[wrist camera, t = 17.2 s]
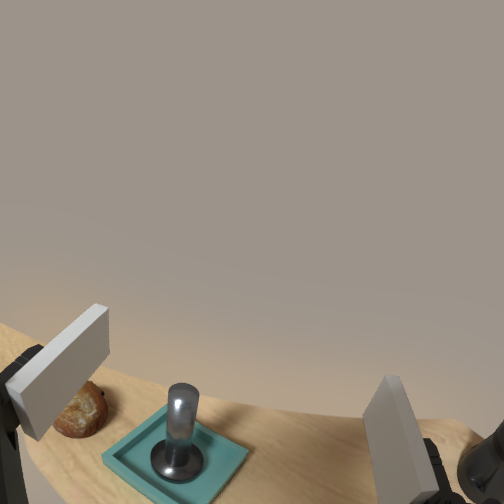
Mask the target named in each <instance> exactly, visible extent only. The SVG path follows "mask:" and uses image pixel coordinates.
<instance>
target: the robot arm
mask: <svg viewBox="0 0 504 504" xmlns="http://www.w3.org/2000/svg"><path fill="white" fill-rule="evenodd" d="M109 354H110V350H109V308H107V307H104V306H102V305H99V304H96V303H95V304H94V305H93V306H92V307H90V308H89V309H88V310H87V311H85V312H84V313H83V314H82V315H81V316H80V317H79V318H77V319H76V320H75V321H74V322H73V323H71V324H70V325H69V326H68V327H67V328H66V329H65V330H63V331H62V332H61V333H60V334H59V335H58V336H57V337H55V338H54V339H53V340H52V341H51V342H50V343H49V344H48V345H46V346H45V347H43V346H41V345H39V344H38V345H35V346H33V347H30V348H28V349H27V350H26V351H25V352H23V353H22V354H21V356H19V357H18V358H17V359H15V361H13V362H12V363H11V364H10V365H9V366H8V367H6V368H5V369H4V370H3V371H2V372H1V373H0V504H29V503H28V498H27V494H26V489H25V484H24V478H23V472H22V467H21V459H20V452H19V444H18V434H17V431H16V428H17V427H18V426H19V424H20V425H21V427H22V429H23V431H24V433H25V434H27V435H28V436H30V437H32V438H33V439H35V440H36V441H38V442H39V440H40V439H41V438H42V437H43V435H44V434H45V433H46V431H47V430H48V429H49V428H50V426H51V425H52V424H53V423H54V421H55V420H56V419H57V417H58V416H59V415H60V414H61V412H62V411H63V410H64V409H65V407H66V406H67V405H68V404H69V402H70V401H71V400H72V399H73V398H74V396H75V395H76V394H77V393H78V391H79V390H80V389H81V388H82V386H83V385H84V384H85V383H86V382H87V380H88V379H89V378H90V377H91V376H92V374H93V373H94V372H95V371H96V370H97V368H98V367H99V366H100V365H101V364H102V362H103V361H104V360H105V359H106V358H107V356H108V355H109ZM363 419H364V424H365V429H366V434H367V440H368V445H369V450H370V456H371V461H372V467H373V473H374V479H375V485H376V491H377V497H378V504H471V503H466V501H465V500H464V498H463V497H462V496H461V495H459V494H458V493H455V492H452V490H451V487H450V484H449V481H448V478H447V475H446V472H445V469H444V466H443V465H442V460H441V458H440V455H439V452H438V449H437V447H436V445H435V444H434V443H433V442H432V441H431V439H430V438H422V435H421V432H420V430H419V427H418V424H417V421H416V419H415V416H414V413H413V411H412V408H411V405H410V403H409V400H408V398H407V395H406V393H405V390H404V387H403V385H402V382H401V380H400V377H399V376H391V375H385V377H384V378H383V380H382V382H381V384H380V386H379V388H378V390H377V391H376V393H375V395H374V397H373V398H372V400H371V402H370V404H369V405H368V407H367V409H366V410H365V412H364V414H363ZM458 480H459V483H460V486H461V488H462V490H463V491H464V493H465V494H466V495H467V497H468V498H469V499H470V500H472V501H473V502H474V503H476V504H504V421H503V422H502V423H501V424H500V426H499V427H498V428H497V429H496V431H495V432H494V433H493V434H492V435H490V436H489V437H488V438H486V439H485V440H484V441H482V442H481V443H480V444H477V445H475V446H474V447H472V448H471V449H470V450H469V451H468V452H467V453H466V454H465V455H464V456H463V458H462V459H461V460H460V462H459V465H458Z"/></svg>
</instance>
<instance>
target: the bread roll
mask: <svg viewBox="0 0 504 504" xmlns="http://www.w3.org/2000/svg"><path fill="white" fill-rule="evenodd" d="M103 396H104V392H103V391H102V390H101V389H99V388H98V387H97V386H96V385H95V384H94V383H93V382H92V381H87V382H86V383H85V384H84V385H83V386H82V388H81V389H80V390H79V391H78V393H77V394H76V395H75V396H74V398H73V399H72V400H71V401H70V402H69V404H68V405H67V406H66V407H65V409H64V410H63V411H62V412H61V414H60V415H59V416H58V417H57V419H56V420H55V421H54V423H53V424H52V425H53V427H54V428H55V429H56V430H57V431H58V432H60V433H61V434H62V435H64V436H66V437H70V438H85V437H88V436H91V435H92V434H93V433H95V432H96V430H98V429H99V428H100V427H101V426H102V425H103V423H104V422H105V419H106V417H107V409H108V405H107V403H106V401H105V399H104V397H103Z"/></svg>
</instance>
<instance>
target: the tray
mask: <svg viewBox="0 0 504 504" xmlns="http://www.w3.org/2000/svg"><path fill="white" fill-rule="evenodd" d="M167 406H168V404H166V405H165V406H163V407H162V408H161V409H160V410H159V411H157V412H156V413H155V414H153V415H152V416H151V417H150V418H148V419H147V420H146V421H145V422H143V423H142V424H141V425H140V426H138V427H137V428H136V429H134V430H133V431H132V432H131V433H129V434H128V435H127V436H125V437H124V438H123V439H121V440H120V441H119V442H117V443H116V444H115V445H113V446H112V447H111V448H109V449H108V450H107V451H105V452H104V453H103V454H101V456H102V460H103V464H105V465H106V466H107V467H108V468H109V469H110V470H112V471H113V472H114V473H115V474H117V475H118V476H119V477H120V478H122V479H123V480H124V481H125V482H127V483H128V484H129V485H130V486H132V487H133V488H134V489H136V490H137V491H138V492H140V493H141V494H143V495H144V496H145V497H147V498H148V499H150V500H151V501H152V502H154V503H155V504H211V503H212V502H213V500H214V499H215V498H216V497H217V495H218V494H219V493H220V492H221V490H222V489H223V488H224V487H225V485H226V484H227V483H228V482H229V480H230V479H231V478H232V476H233V475H234V474H235V473H236V471H237V470H238V469H239V467H240V466H241V465H242V463H243V462H244V461H245V459H246V457H247V454H248V452H249V450H248V449H246V448H244V447H242V446H240V445H238V444H236V443H234V442H232V441H230V440H228V439H226V438H224V437H223V436H221V435H219V434H217V433H215V432H213V431H212V430H210V429H208V428H206V427H205V426H203V425H201V424H199V423H198V422H196V421H195V426H194V432H193V439H192V443H193V444H194V445H196V446H197V447H198V448H199V449H200V451H201V452H202V454H203V458H204V464H203V469H202V472H201V474H200V476H199V477H198V478H197V479H195V480H194V481H192V482H190V483H186V484H173V483H169V482H166V481H164V480H162V479H161V478H159V477H158V476H157V475H156V474H155V473H154V471H153V469H152V467H151V461H150V454H151V450H152V448H153V447H154V445H155V444H157V443H158V442H159V441H161V440H164V439H166V422H167Z"/></svg>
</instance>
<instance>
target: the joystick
mask: <svg viewBox="0 0 504 504" xmlns="http://www.w3.org/2000/svg"><path fill="white" fill-rule="evenodd" d="M198 401H199V392H198V390H197V389H196V388H195V387H194V386H192V385H190V384H186V383H177V384H174V385H172V386H171V387H170V388H169V392H168V406H167V422H166V439H164V440H161V441H159V442H158V443H157V444H155V445H154V447H153V448H152V450H151V454H150V461H151V467H152V469H153V471H154V473H155V474H156V475H157V476H158V477H159V478H161V479H162V480H164V481H166V482H169V483H173V484H186V483H190V482H192V481H194V480H195V479H197V478H198V477H199V476H200V474H201V472H202V469H203V464H204V458H203V454H202V452H201V451H200V449H199V448H198V447H197V446H196V445H194V444H193V443H192V439H193V432H194V426H195V420H196V413H197V407H198Z"/></svg>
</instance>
